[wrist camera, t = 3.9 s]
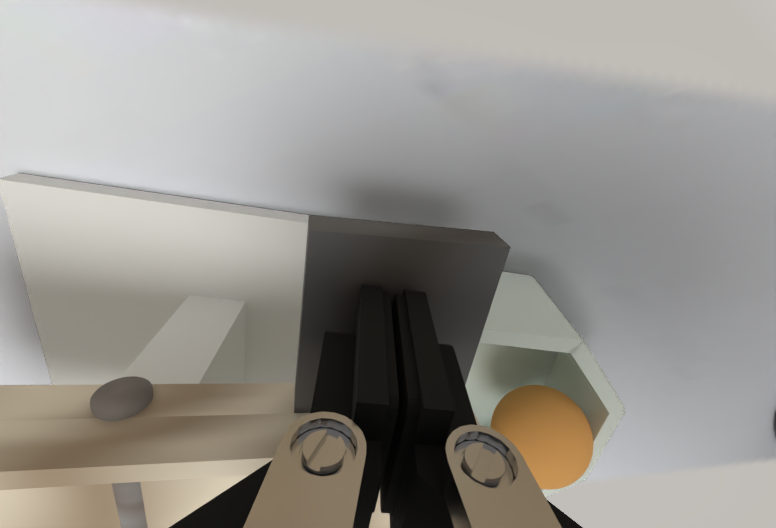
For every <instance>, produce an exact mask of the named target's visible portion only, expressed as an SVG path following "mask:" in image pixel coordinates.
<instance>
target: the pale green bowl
mask: <svg viewBox="0 0 776 528" xmlns="http://www.w3.org/2000/svg"><path fill="white" fill-rule="evenodd" d="M526 385H542V386H547V387H551V388H554V389H556V390H558V391H560V392H562V393H564V394H565V395H567V396H568V397H569V398H571V399H572V400H573V401H574V402H575V403H576V404H577V405H578V406H579V408H580V409H581V410H582V411H583V413H584V414H585V416H586V418H587V420H588V422H589V425H590V427H591V431H592V435H593V454H592V459H591V462H590V464H589V466H588V468H587V470H586V471H585V473H584V474H583V475H582V476H581V477H580V478H579V479H578V480H577V481H575V482H574V483H572V484H570V485H569V486H566V487H563V488H559V489H549V490H547V489H541V491H542V492H543V494H544V496H545V498H546V497H548V496H551V495H553V494H555V493H557V492H559V491H562V490H564V489H567V488H569V487H571V486H573V485H576V484H578V483H580V482H583V481H584V479H587V477H588V475H589V474H590V472H591V470H592V468H593V467H594V465H595V463H596V461H597V460H598V458H599V456H600V455H601V453H602V451H603V449H604V448H605V446H606V444H607V442H608V441H609V439H610V437H611V435H612V434H613V432H614V430H615V429H616V427H617V425H618V423H619V422H620V420H621V418H622V416H623V415H624V413H625V408H624V406H623V404H622V403H621V401H620V399H619V398H618V396H617V394H616V393H615V391H614V390H613V388H612V386H611V385H610V383H609V381H608V380H607V378H606V376H605V375H604V373H603V372H602V370H601V368H600V367H599V365H598V363H597V362H596V360H595V358H594V357H593V355H592V354H591V352H590V350H589V349H588V347H587V345H586V344H585V342H584V341H583V339H582V338H581V337H580V336H579V334H578V333H577V332H576V331H575V329H574V328H573V327H572V325H571V324H570V323H569V322H568V320H567V319H566V318H565V317H564V315H563V314H562V313H561V311H560V310H559V309H558V308H557V306H556V305H555V304H554V302H553V301H552V300H551V299H550V297H549V296H548V295H547V294H546V292H545V291H544V290H543V288H542V287H541V286H540V285H539V283H538V282H537V281H536V280H535V278H534V277H532V276H531V275H524V274H517V273H509V272H502V274H501V277H500V280H499V283H498V286H497V289H496V292H495V295H494V298H493V302H492V305H491V308H490V311H489V314H488V317H487V320H486V323H485V326H484V329H483V332H482V335H481V338H480V342H479V345H478V348H477V351H476V354H475V357H474V360H473V363H472V366H471V369H470V372H469V375H468V378H467V381H466V385H465V387H466V390H467V393H468V396H469V400H470V403H471V406H472V409H473V412H474V414H475V416H476V418H477V420H478V422H479V424H480V425H481V426H485V427H488V428H490V426H491V419H492V415H493V412H494V410H495V408H496V406H497V404H498V403H499V401H500V400H501V399H502V398H503V397H504V396H505V395H506V394H508V393H509V392H510V391H512V390H514V389H516V388H519V387H522V386H526Z"/></svg>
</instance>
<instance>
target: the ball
mask: <svg viewBox="0 0 776 528" xmlns="http://www.w3.org/2000/svg"><path fill="white" fill-rule="evenodd" d="M490 429H493V430H495V431H497V432H499V433H500V434H502V435H504V436H505V437H506V438H507V439H508V440H510V441H511V442H512V443H513V444H514V445H515V446H516V448H517V449H518V450H519V452H520V453H521V455H522V456H523V458H524V460H525V462H526V463H527V465H528V467H529V469H530V471H531V473H532V474H533V476H534V478H535V480H536V482H537V483H538V485H539V487H540V489H547V490H549V489H559V488H563V487H566V486H569V485H570V484H572V483H574V482H575V481H577V480H578V479H579V478H580V477H581V476H582V475H583V474H584V473H585V471H586V470H587V468H588V466H589V464H590V462H591V459H592V454H593V435H592V431H591V427H590V425H589V422H588V420H587V418H586V416H585V414H584V413H583V411H582V410H581V409H580V408H579V406H578V405H577V404H576V403H575V402H574V401H573V400H572V399H571V398H569V397H568V396H567V395H565V394H564V393H562V392H560V391H558V390H556V389H554V388H551V387H547V386H542V385H526V386H522V387H519V388H516V389H514V390H512V391H510V392H509V393H508V394H506V395H505V396H504V397H503V398H502V399H501V400H500V401H499V403H498V404H497V406H496V408H495V410H494V412H493V415H492V419H491V426H490Z"/></svg>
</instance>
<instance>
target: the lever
mask: <svg viewBox="0 0 776 528" xmlns="http://www.w3.org/2000/svg"><path fill="white" fill-rule="evenodd" d="M509 249H510V246H509V245H508V244H507V243H505V242H504V241H503V240H502V239H501V238H500V237H499V236H498V235H497V234H495V233H494V232H489V231H478V230H468V229H457V228H446V227H435V226H424V225H413V224H402V223H391V222H381V221H370V220H359V219H348V218H337V217H326V216H315V215H309V218H308V230H307V243H306V255H305V268H304V280H303V293H302V305H301V317H300V330H299V342H298V355H297V367H296V379H295V383H225V384H151V383H150V381H148V380H147V379H145V378H142V377H136V376H129V377H122V378H118V379H115V380H112V381H110V382H108V383H106V384H98V385H0V528H169V527H170V526H172V525H173V524H175V523H177V522H178V521H180V520H181V519H183V518H184V517H186V516H187V515H189V514H190V513H192V512H193V511H195V510H196V509H198V508H199V507H201V506H203V505H204V504H206V503H207V502H209V501H210V500H212V499H213V498H215V497H216V496H218V495H219V494H221V493H222V492H224V491H225V490H227V489H229V488H230V487H232V486H233V485H235V484H236V483H238V482H239V481H241V480H242V479H244V478H245V477H247V476H248V475H250V474H251V473H253V472H255V471H256V470H258V469H259V468H261V467H262V466H264V465H265V464H267V463H268V462H270V461H271V460H273V458H274V455H275V453H276V451H277V448H278V446H279V444H280V441H281V439H282V437H283V435H284V433H285V432H286V430H287V429H288V427H289V426H290V425H291V424H292V423H294V422H295V421H296V420H297V419H299V418H301V417H303V416H305V415H308V414H310V412H311V407H312V401H313V395H314V390H315V384H316V379H317V373H318V367H319V362H320V356H321V350H322V345H323V339H324V334H325V331H329V332H338V333H347V334H354V328H355V321H356V315H357V308H358V301H359V295H360V288H361V284H364V285H372V286H380V287H382V288H383V293H390V299H391V310H392V306H393V301H394V296H395V294H400V295H402V293H403V291H404V290H412V291H420V292H425V293H426V296H427V300H428V304H429V308H430V312H431V316H432V320H433V324H434V328H435V332H436V336H437V340H438V343H439V344H448V345H452V346H453V348H454V350H455V354H456V357H457V360H458V363H459V367H460V370H461V373H462V377H463V380H464V383H465V385H466V381H467V378H468V375H469V372H470V369H471V366H472V363H473V360H474V357H475V354H476V351H477V348H478V345H479V342H480V338H481V335H482V332H483V329H484V326H485V323H486V320H487V317H488V314H489V311H490V308H491V305H492V302H493V298H494V295H495V292H496V289H497V286H498V283H499V280H500V277H501V274H502V271H503V268H504V265H505V262H506V259H507V255H508V252H509ZM472 410H473V409H472ZM473 413H474V412H473ZM474 416H475V414H474ZM475 420H476V423H477V425H480V424H479V422H478V420H477V418H476V416H475ZM369 528H390V515H389V513H381V508H380V491H379V495H378V499H377V504H376V508H375V511H374V513H373V512H372V516H371V520H370V525H369Z"/></svg>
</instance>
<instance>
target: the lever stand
mask: <svg viewBox="0 0 776 528" xmlns="http://www.w3.org/2000/svg"><path fill="white" fill-rule="evenodd" d="M0 192H1V196H2V200H3V203H4V207H5V211H6V215H7V218H8V222H9V226H10V230H11V233H12V237H13V241H14V244H15V248H16V252H17V256H18V259H19V263H20V267H21V271H22V274H23V278H24V282H25V285H26V289H27V293H28V297H29V300H30V304H31V308H32V311H33V315H34V319H35V323H36V326H37V330H38V334H39V338H40V341H41V345H42V349H43V352H44V356H45V360H46V364H47V367H48V371H49V375H50V379H51V382H52V385H98V384H106V383H108V382H110V381H112V380H115V379H118V378H122V377H129V376H136V377H142V378H145V379H147V380H148V381H150V383H151V384H225V383H295V379H296V367H297V355H298V342H299V330H300V317H301V305H302V293H303V280H304V268H305V255H306V243H307V230H308V218H309V215H305V214H298V213H292V212H285V211H278V210H271V209H264V208H257V207H250V206H243V205H236V204H229V203H222V202H215V201H208V200H201V199H195V198H188V197H181V196H174V195H167V194H160V193H153V192H146V191H139V190H132V189H125V188H118V187H111V186H105V185H98V184H91V183H84V182H77V181H70V180H63V179H56V178H49V177H42V176H35V175H28V174H21V173H17V174H14V175H10V176H6V177H3V178H0Z"/></svg>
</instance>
